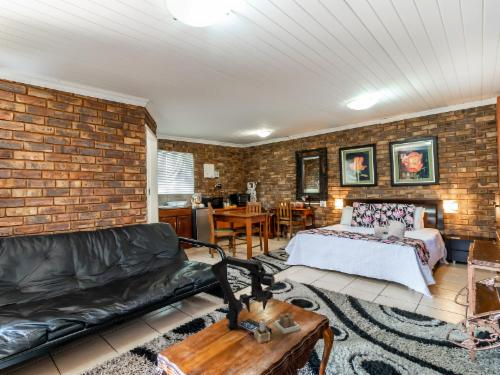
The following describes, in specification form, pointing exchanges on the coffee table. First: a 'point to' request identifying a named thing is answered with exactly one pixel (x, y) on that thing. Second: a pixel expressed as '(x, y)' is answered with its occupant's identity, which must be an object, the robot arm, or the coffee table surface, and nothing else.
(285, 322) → the walnut block
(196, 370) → the coffee table surface
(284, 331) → the tray
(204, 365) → the coffee table surface
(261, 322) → the cylinder
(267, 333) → the beige square frame
